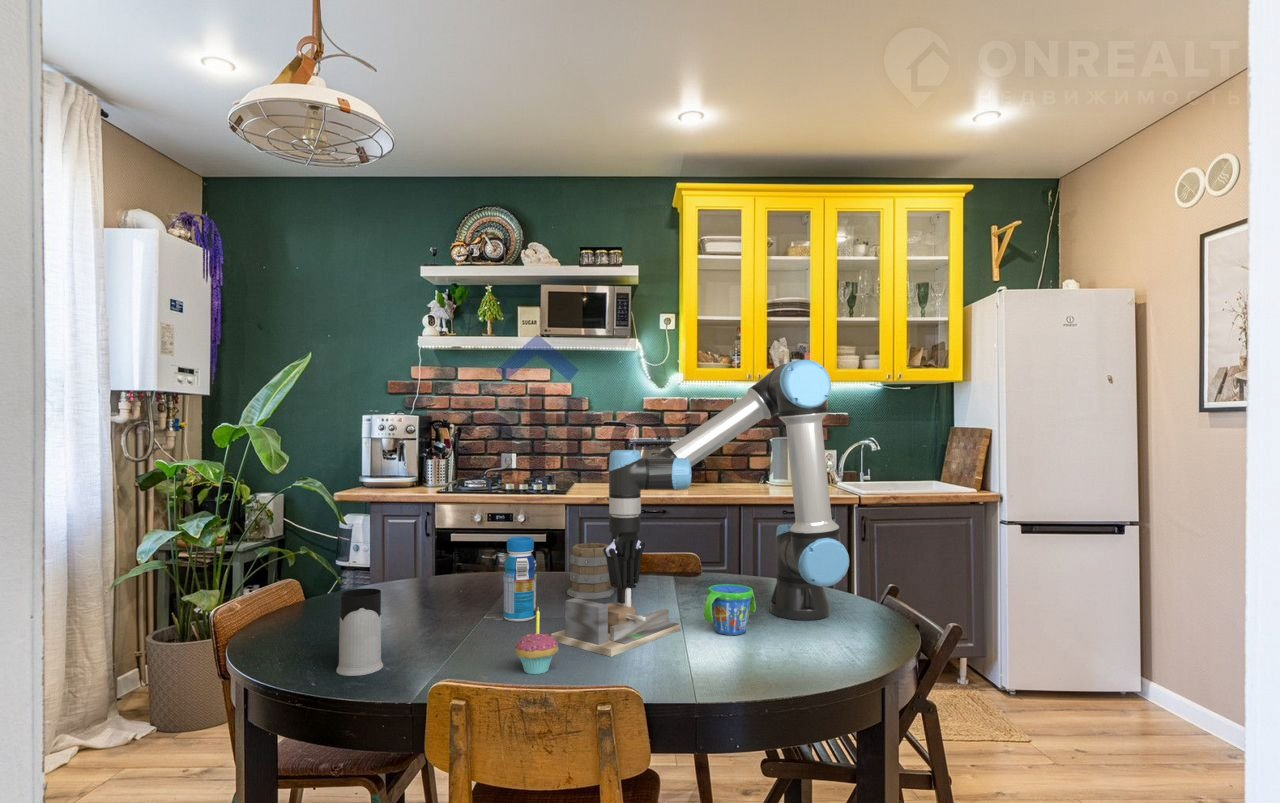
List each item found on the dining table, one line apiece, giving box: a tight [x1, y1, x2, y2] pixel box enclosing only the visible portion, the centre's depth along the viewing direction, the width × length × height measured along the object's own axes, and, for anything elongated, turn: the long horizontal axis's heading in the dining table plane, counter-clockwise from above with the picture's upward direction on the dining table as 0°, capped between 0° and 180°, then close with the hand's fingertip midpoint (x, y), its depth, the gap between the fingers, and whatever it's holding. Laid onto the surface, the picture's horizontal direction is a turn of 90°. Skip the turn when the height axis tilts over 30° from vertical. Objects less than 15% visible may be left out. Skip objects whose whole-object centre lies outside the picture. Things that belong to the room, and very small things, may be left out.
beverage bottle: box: [502, 536, 538, 623], centre depth 179 cm, size 8×8×20 cm
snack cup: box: [703, 583, 757, 636], centre depth 167 cm, size 16×10×10 cm
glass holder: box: [335, 587, 384, 677], centre depth 144 cm, size 9×14×15 cm, turn 24°
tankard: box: [566, 542, 617, 601], centre depth 204 cm, size 20×13×15 cm, turn 81°
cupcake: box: [515, 606, 560, 675], centre depth 140 cm, size 9×8×12 cm
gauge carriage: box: [605, 602, 646, 632], centre depth 162 cm, size 13×6×5 cm, turn 51°
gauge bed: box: [550, 597, 681, 658], centre depth 164 cm, size 18×25×10 cm
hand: (624, 616), depth 166 cm, fingers closed
